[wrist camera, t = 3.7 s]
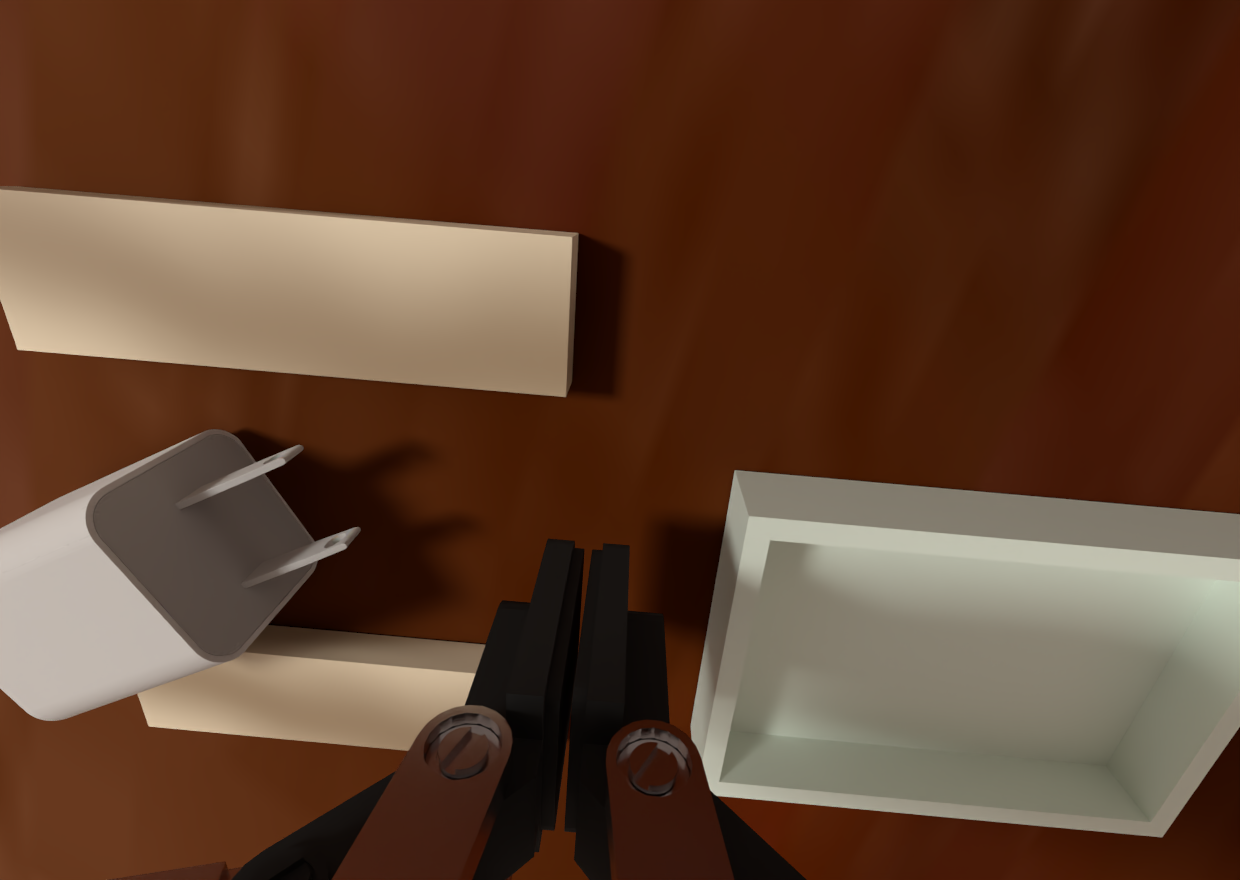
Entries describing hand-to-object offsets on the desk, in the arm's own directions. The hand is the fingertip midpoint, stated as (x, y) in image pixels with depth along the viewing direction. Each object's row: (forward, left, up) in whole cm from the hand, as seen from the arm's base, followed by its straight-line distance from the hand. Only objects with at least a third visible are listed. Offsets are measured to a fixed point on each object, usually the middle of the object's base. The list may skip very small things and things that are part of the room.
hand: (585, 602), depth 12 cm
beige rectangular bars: (0, -6, -2) cm, 7 cm away
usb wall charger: (0, -8, -3) cm, 9 cm away
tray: (+2, +9, -2) cm, 9 cm away
